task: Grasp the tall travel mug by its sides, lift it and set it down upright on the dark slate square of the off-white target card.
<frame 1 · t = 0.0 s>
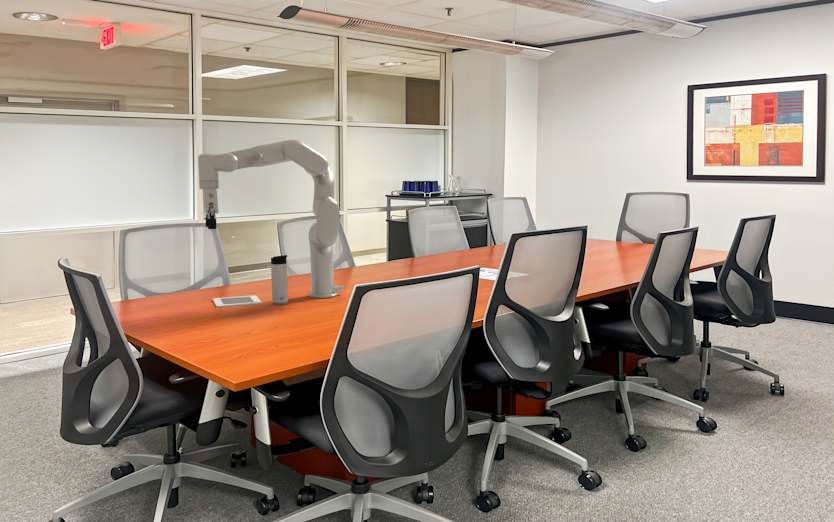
hand: (211, 227, 292), 31 cm above the table, fingers open, 9 cm apart
travel mug: (280, 304, 296), on the table
target card: (237, 301, 301), on the table
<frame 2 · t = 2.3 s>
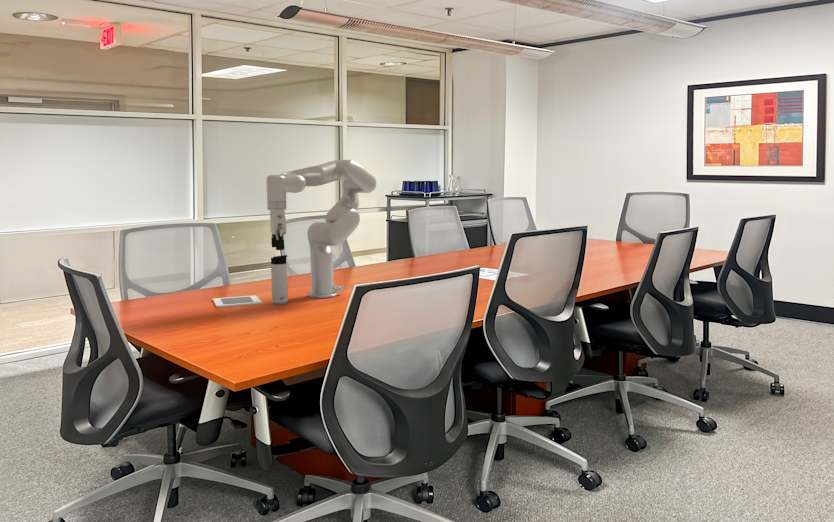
hand: (277, 248, 293), 23 cm above the table, fingers open, 9 cm apart
nothing on the table moved.
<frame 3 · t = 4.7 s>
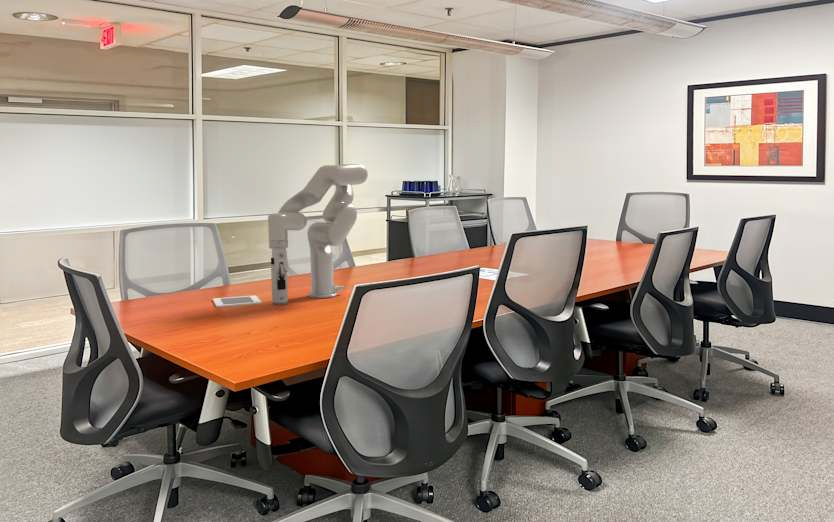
hand: (279, 287, 295), 7 cm above the table, fingers closed on travel mug, 6 cm apart
travel mug: (280, 304, 296), on the table, touching gripper
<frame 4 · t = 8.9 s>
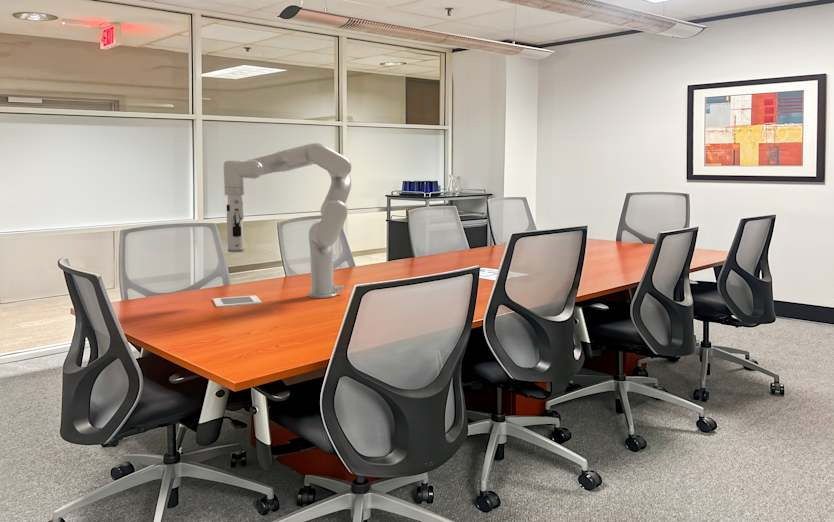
hand: (235, 235, 296), 28 cm above the table, fingers closed on travel mug, 6 cm apart
travel mug: (236, 251, 297), point 21 cm above the table, touching gripper
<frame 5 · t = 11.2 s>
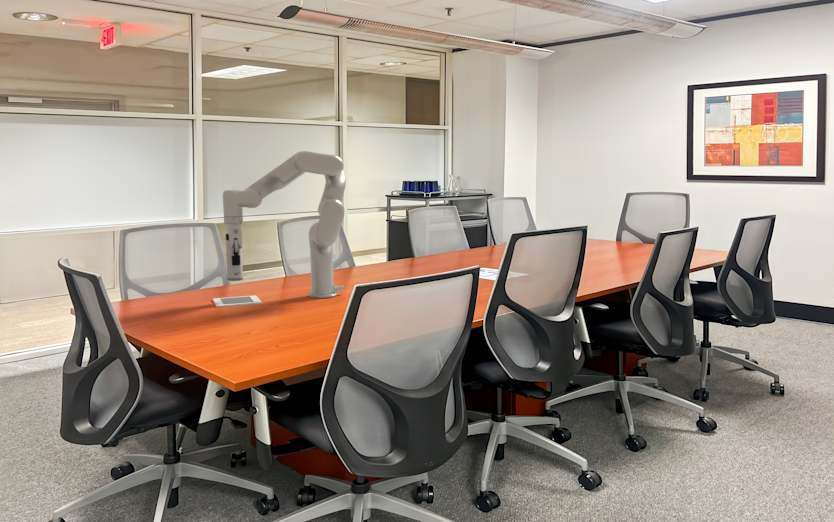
hand: (235, 263, 298), 16 cm above the table, fingers closed on travel mug, 6 cm apart
travel mug: (235, 280, 299), point 9 cm above the table, touching gripper
when the fingers open (9 cm above the table, at t = 13.1 s): travel mug drops 1 cm, resting on target card.
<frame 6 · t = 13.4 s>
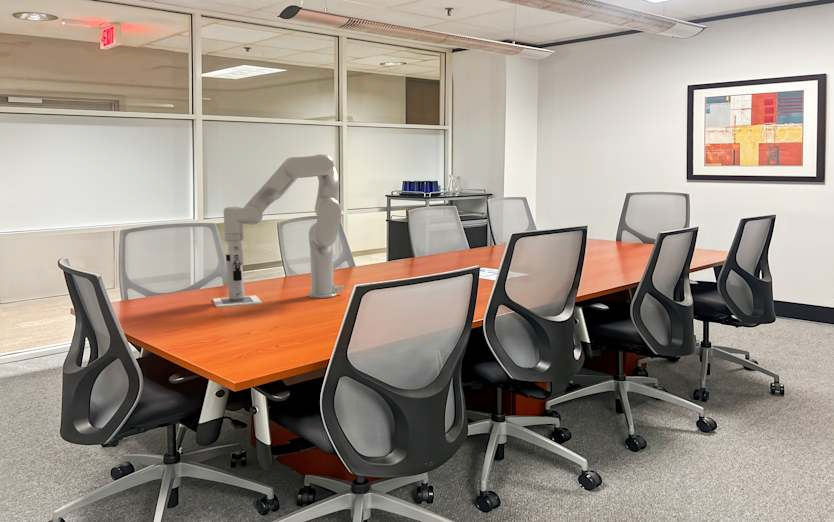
hand: (236, 278, 299), 10 cm above the table, fingers open, 9 cm apart
travel mug: (237, 300, 301), point 1 cm above the table, touching target card
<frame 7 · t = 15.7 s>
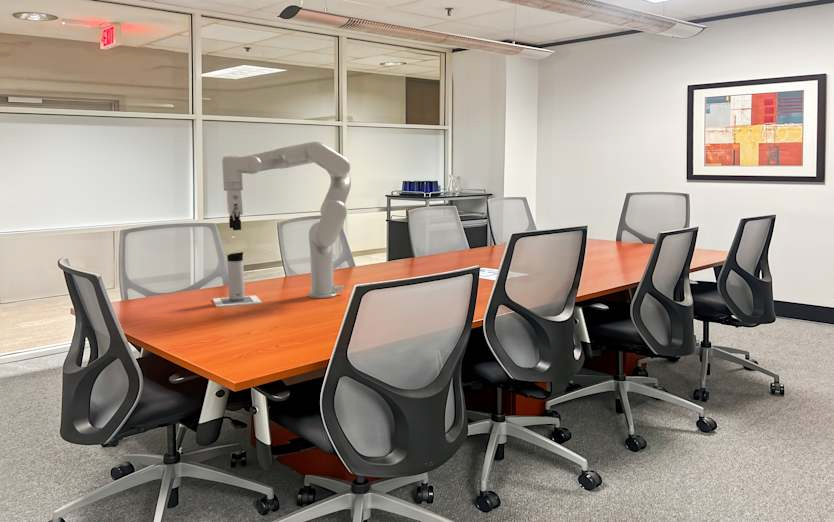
hand: (235, 228, 297), 30 cm above the table, fingers open, 9 cm apart
nothing on the table moved.
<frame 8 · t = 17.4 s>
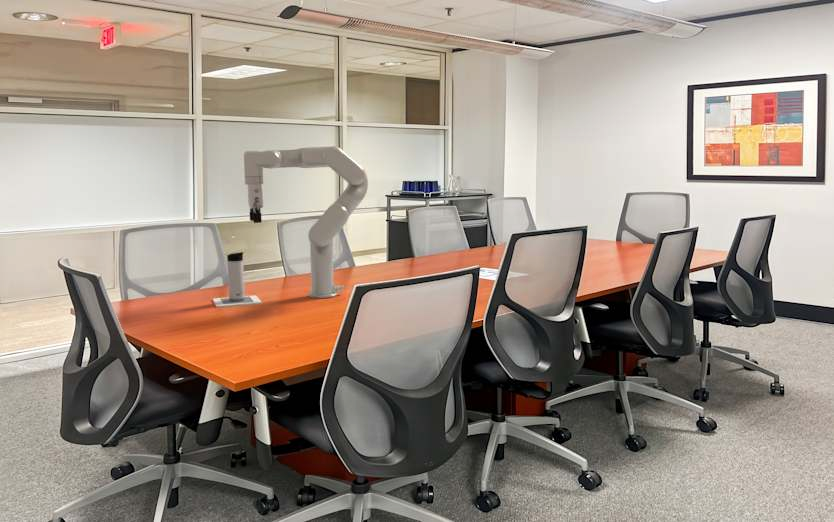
hand: (255, 221, 306), 32 cm above the table, fingers open, 9 cm apart
nothing on the table moved.
at the end: travel mug inside the target area on the target card (0.2 cm from its centre), point 0.5 cm above the target card's base; travel mug tilted 0°; the gripper is holding nothing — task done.
